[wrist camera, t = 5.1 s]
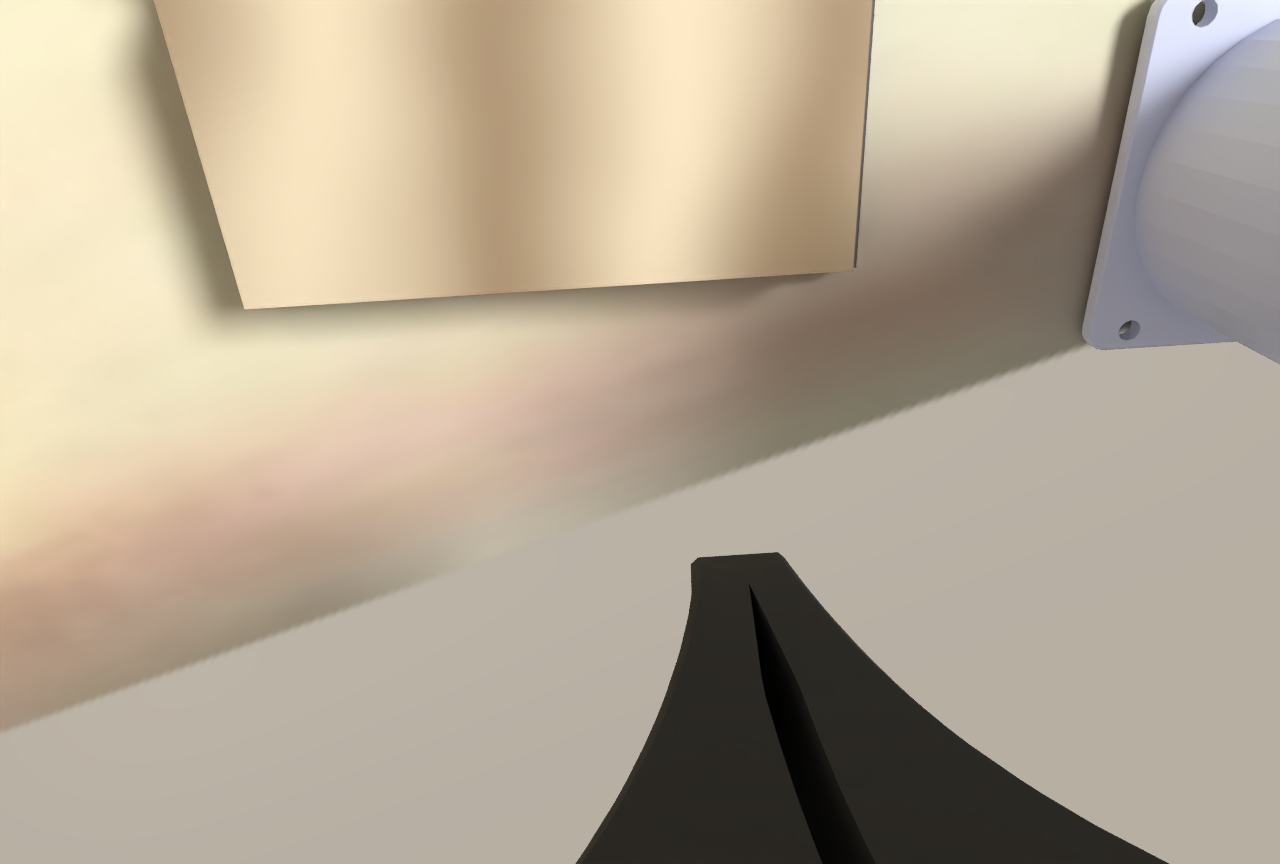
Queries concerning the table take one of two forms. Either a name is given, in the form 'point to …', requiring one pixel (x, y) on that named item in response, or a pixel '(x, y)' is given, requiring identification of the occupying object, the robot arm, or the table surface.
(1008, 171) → the table surface
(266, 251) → the board
